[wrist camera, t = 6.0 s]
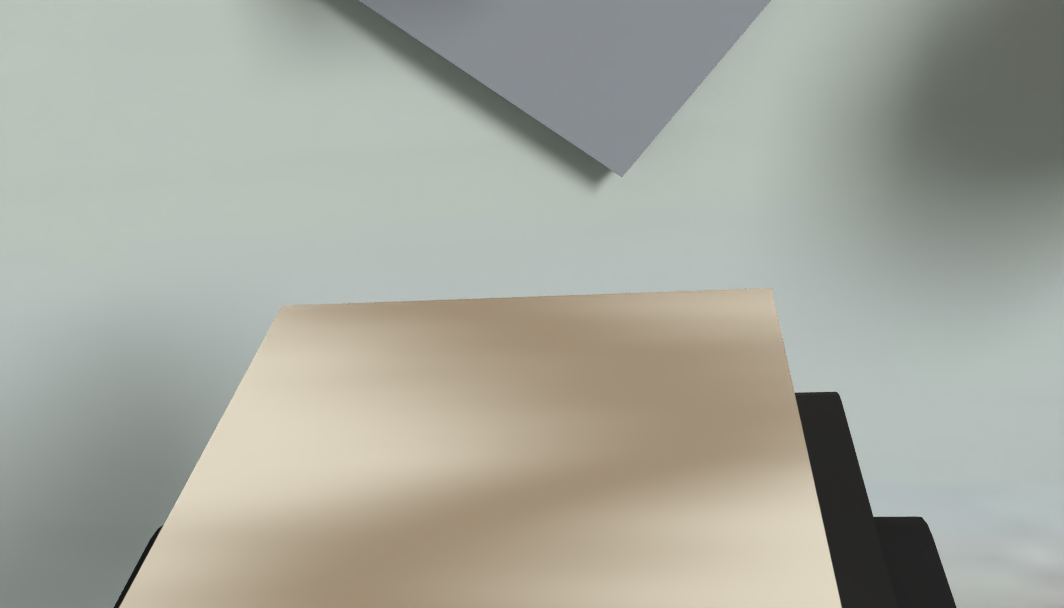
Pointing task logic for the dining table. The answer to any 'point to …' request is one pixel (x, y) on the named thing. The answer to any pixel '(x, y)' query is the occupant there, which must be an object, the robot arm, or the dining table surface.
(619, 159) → the baseplate
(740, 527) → the birch block
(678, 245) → the dining table surface
